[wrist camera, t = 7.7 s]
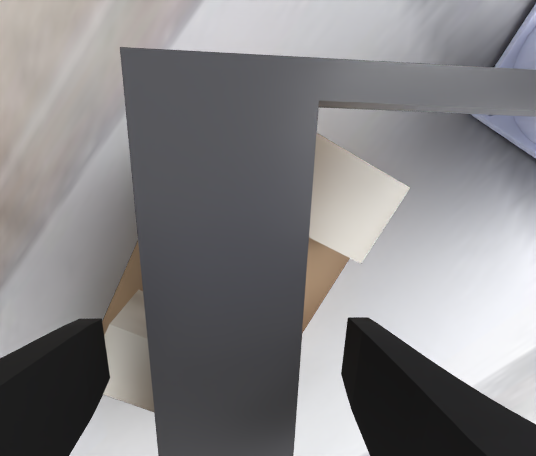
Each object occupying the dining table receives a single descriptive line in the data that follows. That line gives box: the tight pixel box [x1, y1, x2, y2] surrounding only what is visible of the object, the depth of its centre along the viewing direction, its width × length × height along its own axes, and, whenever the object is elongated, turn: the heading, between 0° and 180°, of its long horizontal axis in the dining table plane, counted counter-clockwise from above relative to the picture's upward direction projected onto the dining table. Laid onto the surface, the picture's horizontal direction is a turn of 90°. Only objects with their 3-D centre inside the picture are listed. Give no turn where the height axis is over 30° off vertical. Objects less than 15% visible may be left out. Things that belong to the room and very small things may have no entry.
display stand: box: [102, 133, 410, 412], centre depth 13 cm, size 10×15×7 cm, turn 152°
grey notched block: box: [120, 47, 536, 456], centre depth 10 cm, size 10×15×4 cm, turn 178°
